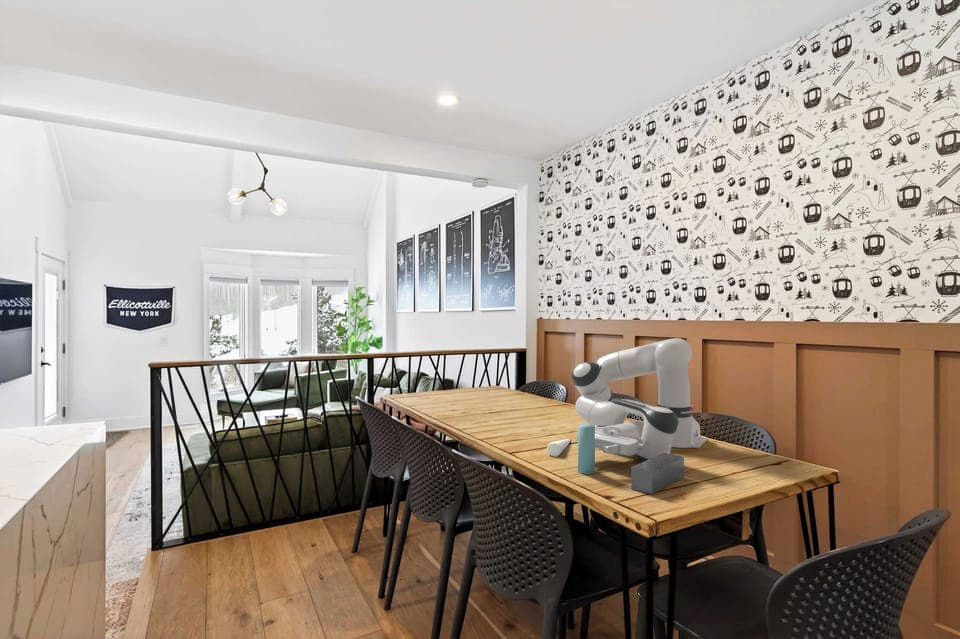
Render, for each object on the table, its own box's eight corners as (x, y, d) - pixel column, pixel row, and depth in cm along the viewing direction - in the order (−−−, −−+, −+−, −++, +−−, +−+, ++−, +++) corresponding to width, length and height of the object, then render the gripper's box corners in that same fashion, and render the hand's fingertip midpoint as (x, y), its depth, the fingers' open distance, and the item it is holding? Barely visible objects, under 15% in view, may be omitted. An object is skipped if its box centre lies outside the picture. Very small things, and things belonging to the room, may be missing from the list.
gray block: (664, 472, 148) (664, 452, 148) (684, 477, 143) (684, 456, 143) (631, 488, 134) (631, 467, 134) (652, 494, 129) (652, 471, 129)
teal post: (584, 468, 152) (584, 423, 152) (598, 471, 148) (598, 425, 148) (574, 471, 149) (574, 425, 149) (588, 475, 145) (588, 428, 145)
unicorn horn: (579, 442, 185) (579, 429, 185) (559, 458, 164) (559, 444, 164) (567, 440, 187) (567, 428, 187) (546, 456, 166) (546, 442, 166)
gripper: (647, 455, 151) (621, 464, 142) (592, 442, 166) (566, 450, 157) (646, 435, 151) (621, 443, 142) (591, 424, 166) (565, 431, 157)
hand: (591, 447), depth 150 cm, fingers open, 8 cm apart
